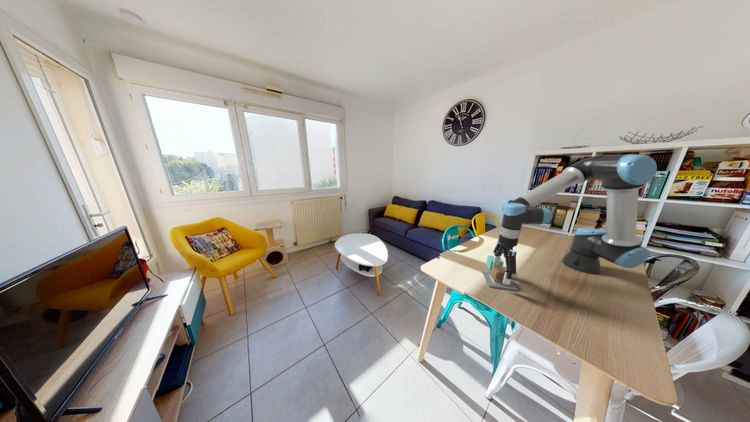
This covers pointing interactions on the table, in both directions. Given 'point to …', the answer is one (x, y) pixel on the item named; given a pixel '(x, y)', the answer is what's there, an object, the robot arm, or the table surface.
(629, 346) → the table surface
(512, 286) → the build pad
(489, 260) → the teal block
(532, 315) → the table surface
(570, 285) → the table surface
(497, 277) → the walnut block
